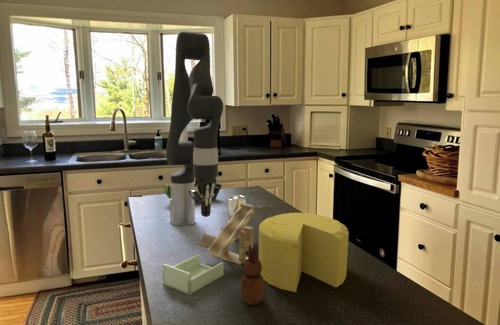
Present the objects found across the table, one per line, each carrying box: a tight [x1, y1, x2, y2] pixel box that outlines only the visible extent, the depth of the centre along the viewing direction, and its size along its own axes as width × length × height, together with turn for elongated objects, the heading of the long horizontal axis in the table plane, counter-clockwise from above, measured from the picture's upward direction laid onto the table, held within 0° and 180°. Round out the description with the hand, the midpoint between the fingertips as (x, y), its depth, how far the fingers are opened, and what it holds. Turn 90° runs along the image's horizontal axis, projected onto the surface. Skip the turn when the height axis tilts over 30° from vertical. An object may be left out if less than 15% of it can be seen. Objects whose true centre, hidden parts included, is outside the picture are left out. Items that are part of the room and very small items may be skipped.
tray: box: [162, 254, 225, 296], centre depth 113 cm, size 10×14×6 cm
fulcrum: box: [216, 225, 254, 266], centre depth 130 cm, size 12×9×10 cm
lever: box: [197, 203, 256, 259], centre depth 128 cm, size 20×11×3 cm
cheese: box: [258, 212, 350, 293], centre depth 119 cm, size 26×26×15 cm
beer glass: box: [226, 194, 247, 241], centre depth 146 cm, size 7×7×15 cm
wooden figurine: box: [240, 243, 265, 306], centre depth 101 cm, size 7×6×15 cm
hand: (205, 215), depth 125 cm, fingers closed
